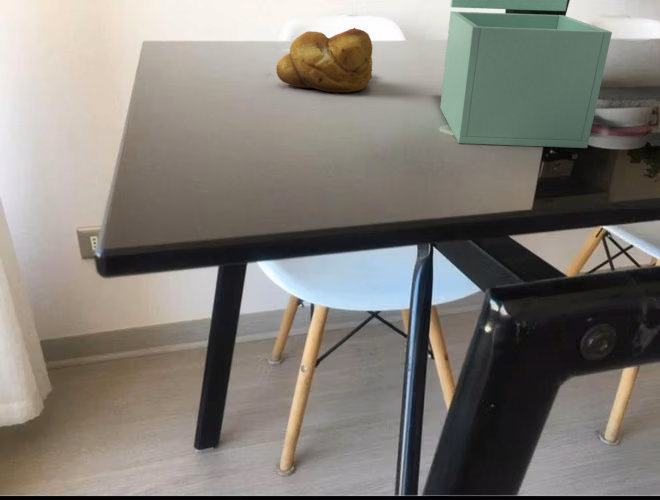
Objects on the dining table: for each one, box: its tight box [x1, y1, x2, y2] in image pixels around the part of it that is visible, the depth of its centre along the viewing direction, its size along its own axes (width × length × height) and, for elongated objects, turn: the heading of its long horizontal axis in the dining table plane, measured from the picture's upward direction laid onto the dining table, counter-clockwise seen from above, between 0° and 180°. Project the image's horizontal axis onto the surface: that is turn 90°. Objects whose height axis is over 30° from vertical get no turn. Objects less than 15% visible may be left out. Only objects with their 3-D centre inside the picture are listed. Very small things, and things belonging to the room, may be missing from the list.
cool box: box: [439, 11, 613, 149], centre depth 65 cm, size 14×12×11 cm
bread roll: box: [275, 27, 373, 93], centre depth 81 cm, size 13×10×8 cm
